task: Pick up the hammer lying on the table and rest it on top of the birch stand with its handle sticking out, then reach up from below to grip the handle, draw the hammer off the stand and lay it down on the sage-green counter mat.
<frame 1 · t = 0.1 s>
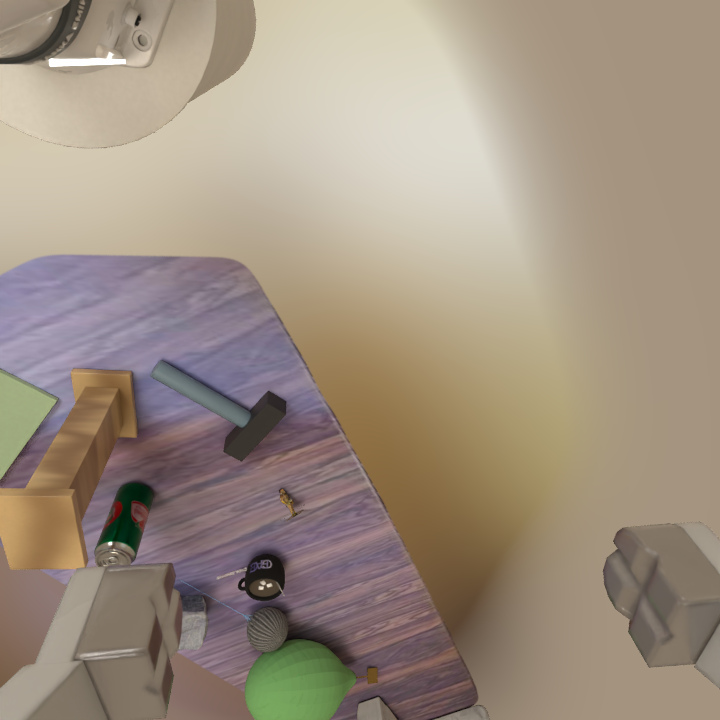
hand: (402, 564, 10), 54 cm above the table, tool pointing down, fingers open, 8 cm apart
balloon: (377, 674, 108), point 1 cm above the table
hammer: (243, 412, 73), on the table
soda can: (136, 492, 79), on the table
mug: (250, 564, 89), on the table
soldier figurine: (295, 516, 80), point 3 cm above the table
stand: (107, 402, 70), on the table
lollipop: (234, 627, 87), point 6 cm above the table
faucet: (411, 700, 110), point 3 cm above the table
rock: (156, 643, 82), point 9 cm above the table
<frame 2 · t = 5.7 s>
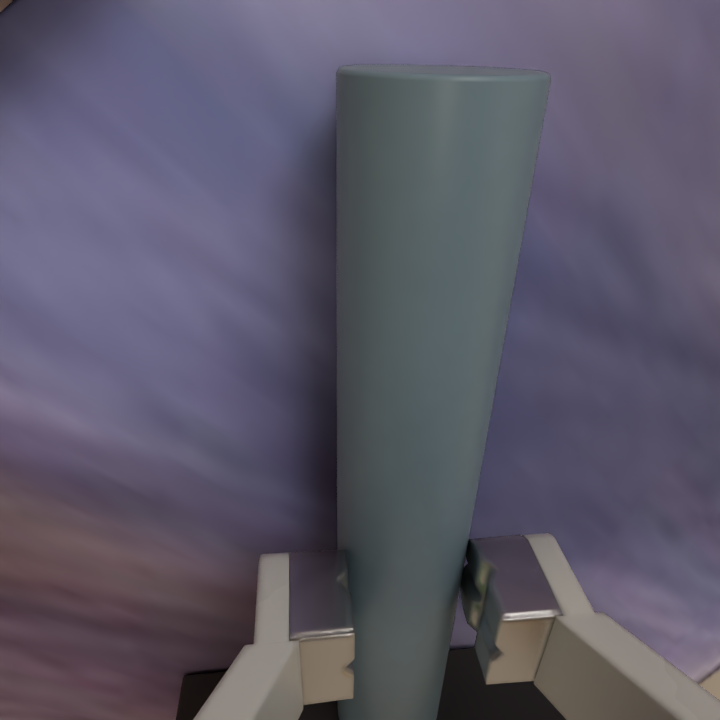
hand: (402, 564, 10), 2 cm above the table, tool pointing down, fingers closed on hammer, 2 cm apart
hammer: (380, 643, 14), on the table, touching gripper
when the fingers open (24 cm above the table, at t = 12.1 s): hammer stays where it is, point 22 cm above the table.
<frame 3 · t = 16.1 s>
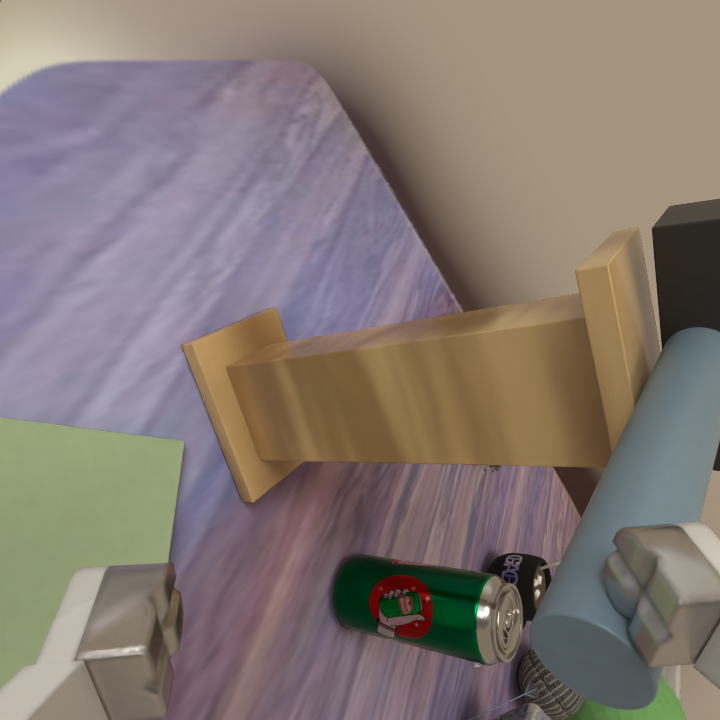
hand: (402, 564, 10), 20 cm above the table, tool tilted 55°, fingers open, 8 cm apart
balloon: (600, 659, 82), point 1 cm above the table
hammer: (659, 362, 20), point 22 cm above the table, tilted 8°
soda can: (349, 589, 39), on the table
mug: (484, 605, 56), on the table
soldier figurine: (500, 453, 55), point 3 cm above the table
mat: (22, 644, 22), on the table
stand: (254, 401, 33), on the table
lollipop: (552, 696, 52), point 6 cm above the table
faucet: (630, 655, 88), point 3 cm above the table
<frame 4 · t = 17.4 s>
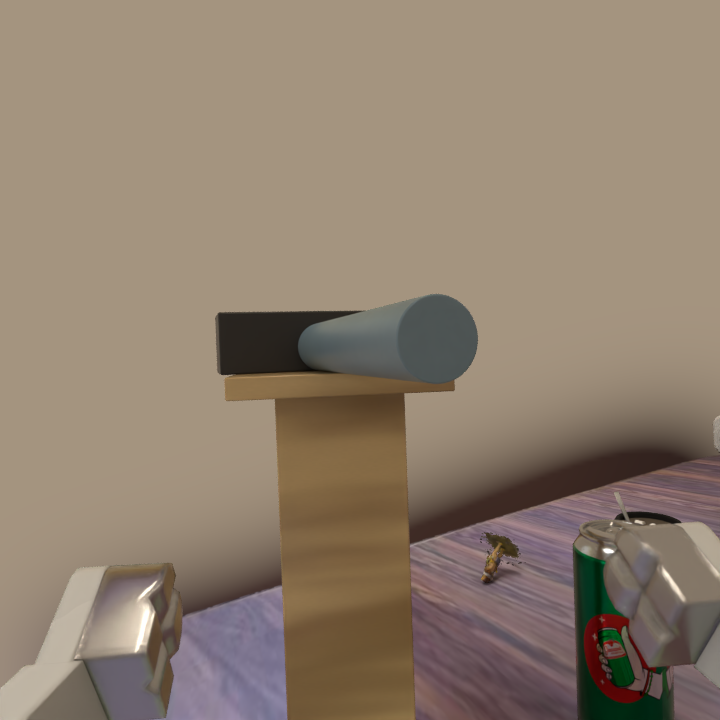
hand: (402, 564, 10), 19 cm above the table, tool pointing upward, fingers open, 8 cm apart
hammer: (324, 370, 27), point 22 cm above the table, touching stand
mug: (678, 587, 50), on the table
soldier figurine: (503, 543, 54), point 3 cm above the table
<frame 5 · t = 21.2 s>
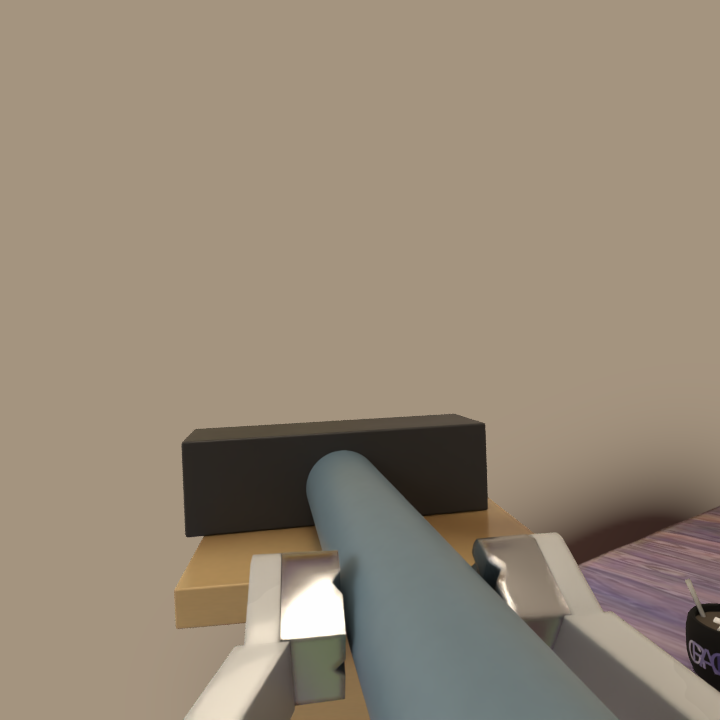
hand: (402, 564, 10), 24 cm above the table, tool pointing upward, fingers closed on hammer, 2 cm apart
hammer: (346, 528, 17), point 22 cm above the table, touching gripper, stand
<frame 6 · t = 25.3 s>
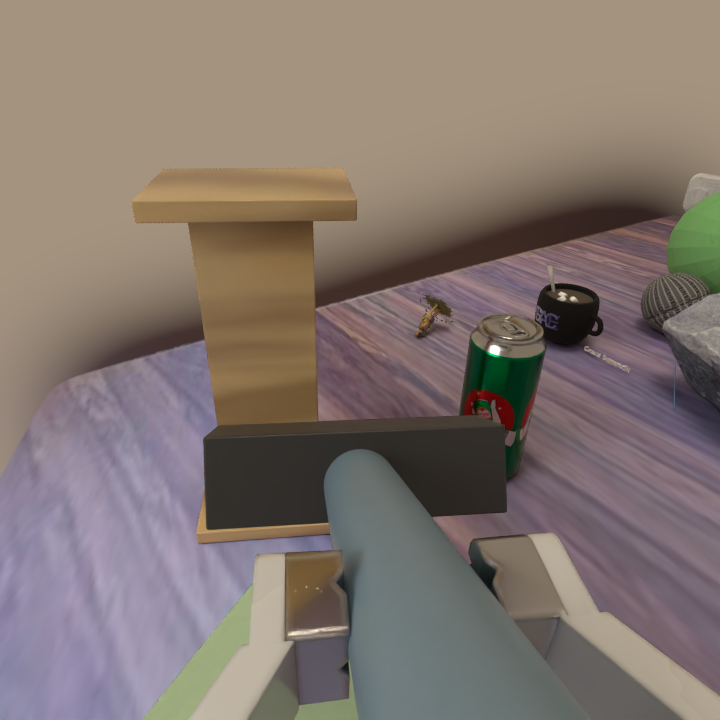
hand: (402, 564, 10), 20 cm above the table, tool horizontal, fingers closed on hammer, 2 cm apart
balloon: (700, 253, 83), point 1 cm above the table
hammer: (362, 526, 17), point 15 cm above the table, tilted 30°, touching gripper
soda can: (485, 465, 42), on the table
mug: (579, 349, 58), on the table
soldier figurine: (439, 304, 61), point 3 cm above the table
stand: (277, 499, 38), on the table
lollipop: (674, 305, 54), point 6 cm above the table
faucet: (708, 224, 89), point 3 cm above the table
when the fingers open (7 cm above the table, at t = 29.1 s): hammer drops 2 cm, resting on mat.
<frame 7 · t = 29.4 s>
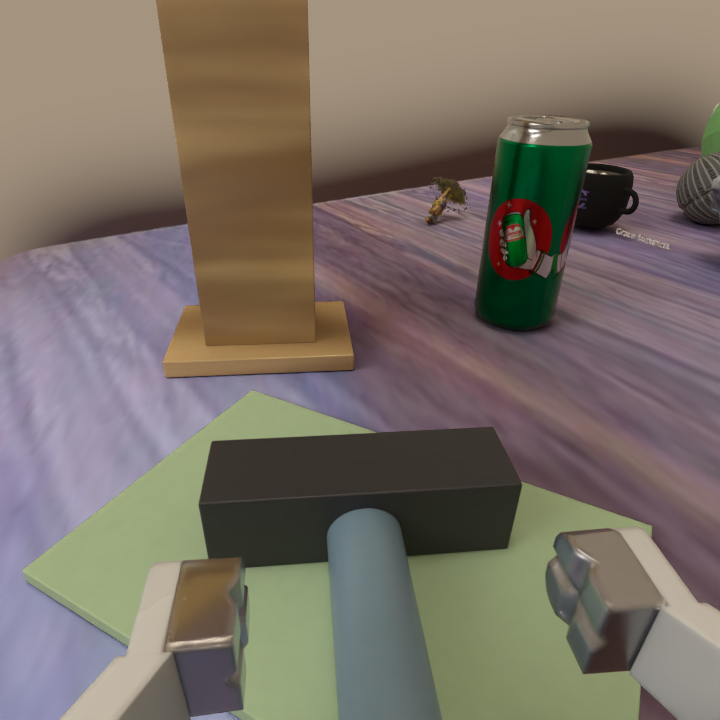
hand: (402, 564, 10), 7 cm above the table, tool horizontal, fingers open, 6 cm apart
hammer: (364, 572, 17), point 1 cm above the table, touching mat
soda can: (511, 319, 36), on the table
mug: (609, 234, 52), on the table
soldier figurine: (452, 189, 54), point 3 cm above the table
mat: (355, 558, 19), on the table
stand: (264, 342, 32), on the table
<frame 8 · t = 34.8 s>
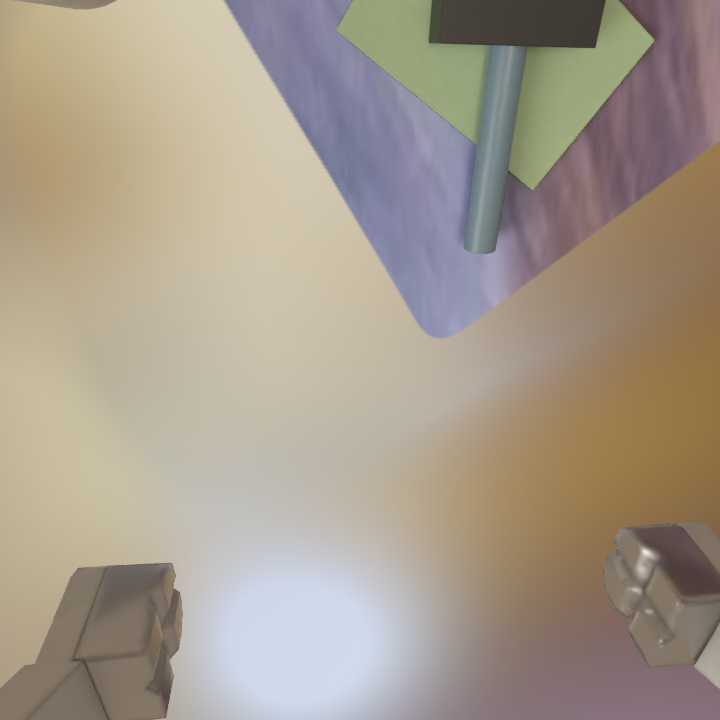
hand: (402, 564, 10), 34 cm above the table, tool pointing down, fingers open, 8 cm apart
hammer: (501, 54, 36), point 1 cm above the table, touching mat
mat: (497, 35, 36), on the table
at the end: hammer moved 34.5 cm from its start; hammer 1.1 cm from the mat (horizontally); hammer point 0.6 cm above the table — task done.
